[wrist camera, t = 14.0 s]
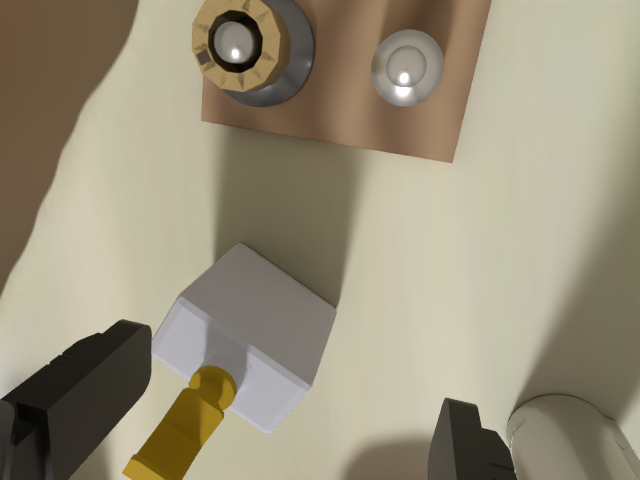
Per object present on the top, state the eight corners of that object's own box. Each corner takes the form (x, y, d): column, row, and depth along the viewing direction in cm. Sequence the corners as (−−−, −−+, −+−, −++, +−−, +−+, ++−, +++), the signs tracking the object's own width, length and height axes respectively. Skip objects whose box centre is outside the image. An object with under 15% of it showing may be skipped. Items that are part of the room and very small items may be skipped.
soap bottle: (340, 308, 45) (271, 517, 23) (305, 352, 47) (212, 579, 25) (240, 238, 44) (73, 382, 23) (210, 286, 47) (33, 457, 25)
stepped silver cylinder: (448, 38, 34) (456, 28, 28) (433, 109, 36) (437, 114, 30) (380, 30, 35) (373, 18, 29) (369, 99, 36) (360, 102, 30)
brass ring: (270, -17, 32) (255, -28, 29) (303, 70, 34) (292, 68, 31) (196, 21, 34) (176, 15, 31) (231, 103, 36) (214, 104, 33)
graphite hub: (322, -5, 35) (303, -25, 29) (307, 114, 38) (287, 119, 32) (213, -19, 36) (172, -40, 30) (207, 98, 39) (170, 100, 33)
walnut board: (491, -12, 34) (495, -16, 32) (450, 160, 38) (452, 163, 37) (216, -43, 37) (208, -48, 35) (208, 119, 41) (201, 120, 40)
